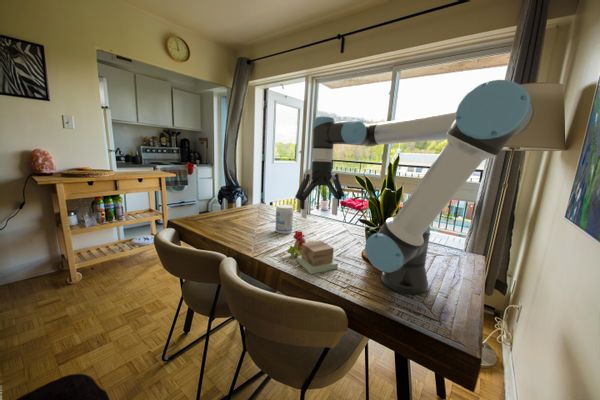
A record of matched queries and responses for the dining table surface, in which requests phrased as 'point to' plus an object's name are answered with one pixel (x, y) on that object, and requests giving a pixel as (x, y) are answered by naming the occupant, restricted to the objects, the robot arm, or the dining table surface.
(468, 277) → the dining table surface
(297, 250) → the bird rattle
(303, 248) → the walnut block
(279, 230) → the supplement tub
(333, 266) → the base plate
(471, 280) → the dining table surface
